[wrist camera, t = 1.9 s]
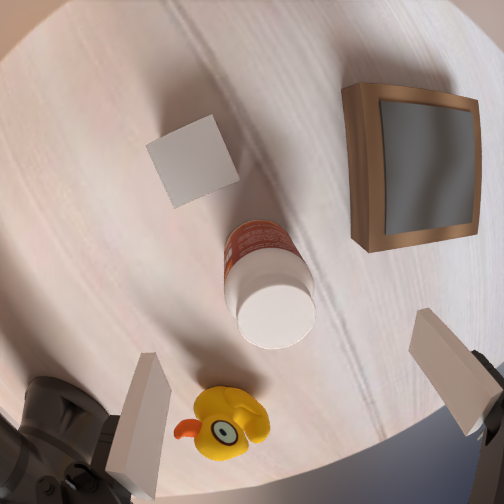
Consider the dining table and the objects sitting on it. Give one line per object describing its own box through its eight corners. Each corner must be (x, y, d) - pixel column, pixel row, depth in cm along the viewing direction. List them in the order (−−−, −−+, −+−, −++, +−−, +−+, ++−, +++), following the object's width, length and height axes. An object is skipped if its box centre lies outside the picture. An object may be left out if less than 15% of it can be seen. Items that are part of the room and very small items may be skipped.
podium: (351, 238, 27) (370, 254, 23) (341, 89, 22) (361, 81, 18) (455, 223, 28) (479, 235, 24) (453, 101, 23) (479, 100, 19)
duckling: (173, 389, 33) (164, 455, 23) (190, 363, 31) (181, 433, 22) (253, 415, 35) (260, 476, 26) (274, 392, 34) (286, 457, 25)
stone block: (184, 196, 25) (174, 208, 20) (161, 144, 23) (145, 145, 18) (237, 173, 24) (240, 180, 20) (215, 119, 23) (212, 114, 18)
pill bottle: (215, 228, 26) (208, 287, 16) (283, 210, 26) (320, 257, 15) (234, 288, 28) (239, 368, 18) (297, 271, 28) (333, 343, 18)
